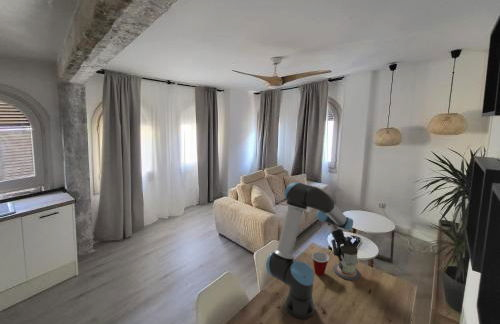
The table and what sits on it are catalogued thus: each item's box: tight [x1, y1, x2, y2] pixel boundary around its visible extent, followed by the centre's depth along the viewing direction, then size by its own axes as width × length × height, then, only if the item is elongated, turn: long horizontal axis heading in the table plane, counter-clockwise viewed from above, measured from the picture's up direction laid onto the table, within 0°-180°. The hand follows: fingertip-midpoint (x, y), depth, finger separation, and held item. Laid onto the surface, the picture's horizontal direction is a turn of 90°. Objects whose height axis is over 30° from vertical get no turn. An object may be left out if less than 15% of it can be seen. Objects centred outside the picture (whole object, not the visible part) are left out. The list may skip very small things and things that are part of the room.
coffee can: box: [338, 244, 359, 274], centre depth 153 cm, size 10×10×14 cm
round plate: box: [333, 263, 361, 281], centre depth 154 cm, size 16×16×1 cm
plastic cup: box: [311, 251, 330, 276], centre depth 152 cm, size 11×11×12 cm
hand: (351, 264), depth 150 cm, fingers closed on coffee can, 10 cm apart
